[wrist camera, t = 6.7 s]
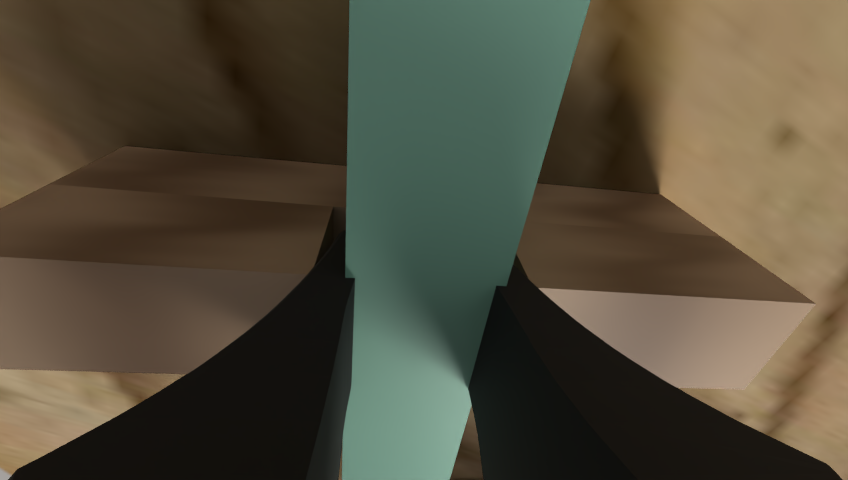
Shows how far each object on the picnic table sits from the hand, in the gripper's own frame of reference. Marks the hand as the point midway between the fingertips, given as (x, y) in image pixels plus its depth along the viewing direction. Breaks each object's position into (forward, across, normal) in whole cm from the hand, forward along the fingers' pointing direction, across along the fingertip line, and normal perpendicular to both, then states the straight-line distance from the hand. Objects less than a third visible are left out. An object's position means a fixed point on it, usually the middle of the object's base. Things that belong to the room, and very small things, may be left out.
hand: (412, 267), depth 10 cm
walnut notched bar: (+4, 0, +1) cm, 4 cm away
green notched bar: (+3, 0, 0) cm, 4 cm away
